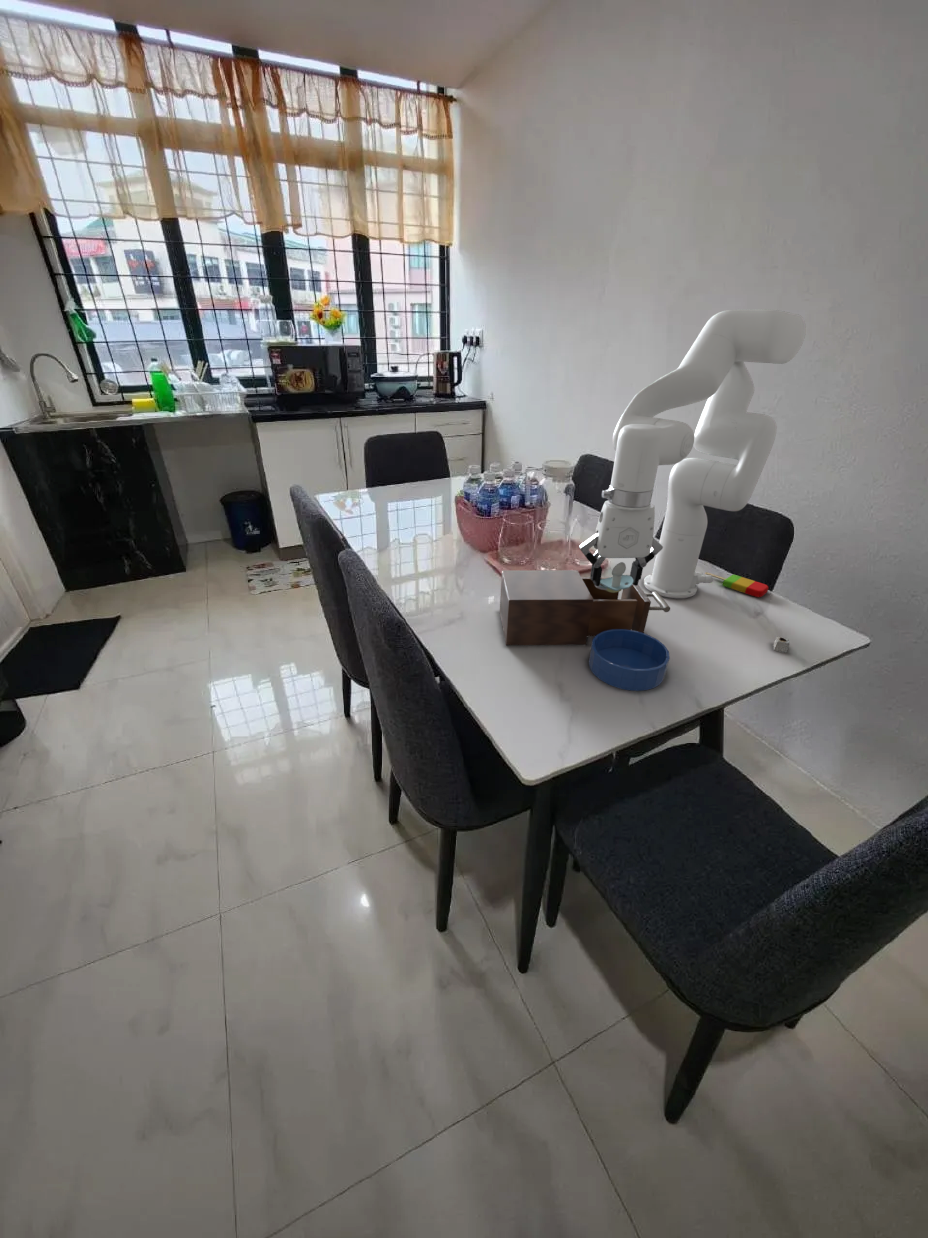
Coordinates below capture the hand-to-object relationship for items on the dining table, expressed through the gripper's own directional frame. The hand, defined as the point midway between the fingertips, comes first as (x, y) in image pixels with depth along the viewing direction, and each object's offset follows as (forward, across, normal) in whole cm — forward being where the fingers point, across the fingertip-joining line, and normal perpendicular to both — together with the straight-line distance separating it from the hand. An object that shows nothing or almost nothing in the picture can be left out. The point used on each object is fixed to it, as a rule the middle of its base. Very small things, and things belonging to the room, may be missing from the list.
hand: (614, 582), depth 101 cm
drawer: (+11, +2, +2) cm, 12 cm away
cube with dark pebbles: (+12, +34, -7) cm, 37 cm away
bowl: (+12, 0, -13) cm, 17 cm away
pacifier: (+1, 0, 0) cm, 2 cm away
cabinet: (+12, -14, +2) cm, 18 cm away
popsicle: (+13, +40, +22) cm, 47 cm away
